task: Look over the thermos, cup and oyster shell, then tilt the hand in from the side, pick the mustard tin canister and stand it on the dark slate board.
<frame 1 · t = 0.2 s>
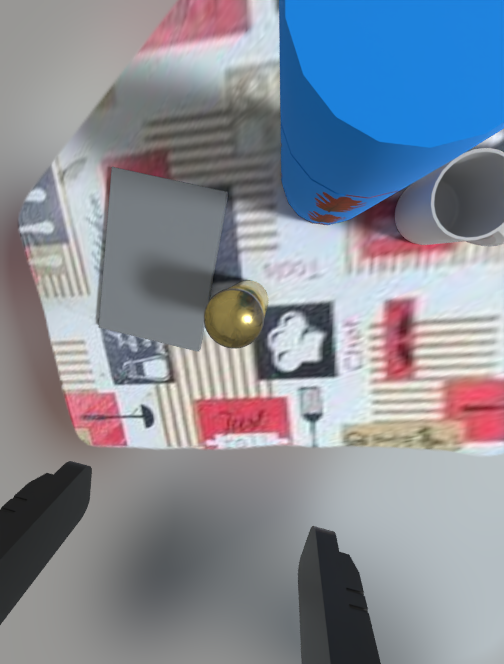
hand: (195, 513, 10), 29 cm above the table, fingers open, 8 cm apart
slate board: (161, 264, 38), on the table
cup: (435, 219, 34), on the table
thermos: (328, 177, 34), on the table
canister: (248, 300, 38), on the table
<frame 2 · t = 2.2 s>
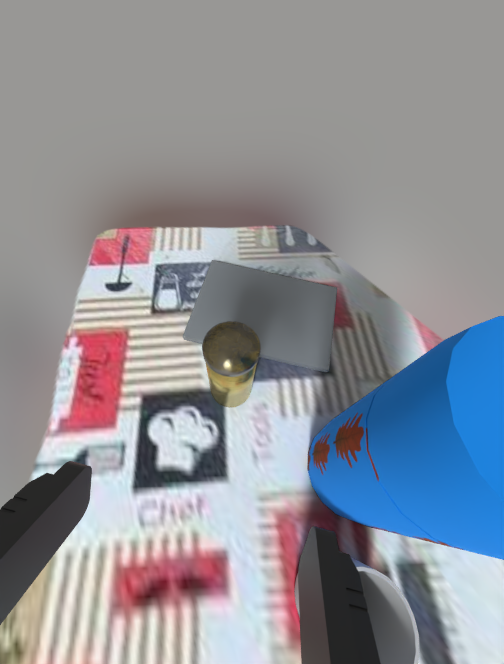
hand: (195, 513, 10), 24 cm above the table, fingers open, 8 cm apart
slate board: (264, 313, 43), on the table
cup: (322, 608, 28), on the table
thermos: (351, 467, 34), on the table
canister: (230, 386, 38), on the table
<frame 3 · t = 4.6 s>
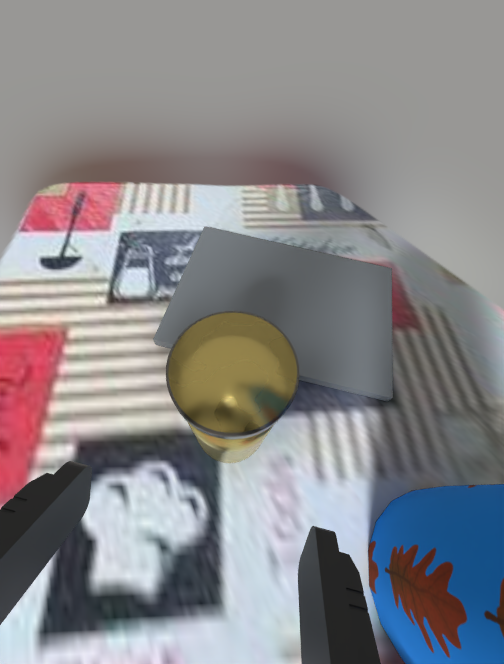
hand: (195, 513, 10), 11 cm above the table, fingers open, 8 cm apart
slate board: (283, 306, 28), on the table
thermos: (446, 580, 19), on the table
canister: (230, 426, 22), on the table
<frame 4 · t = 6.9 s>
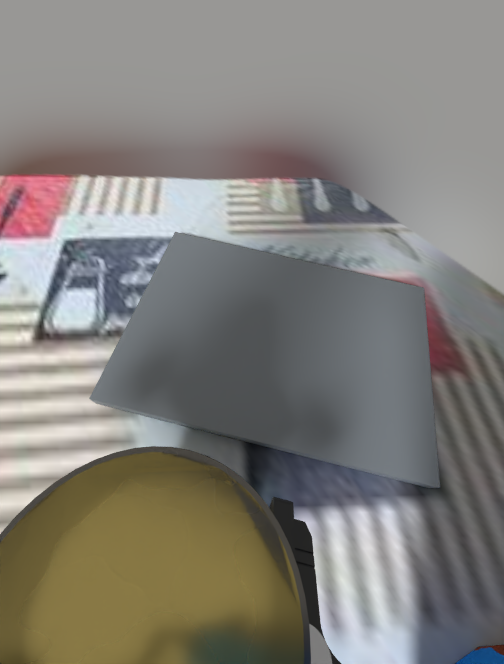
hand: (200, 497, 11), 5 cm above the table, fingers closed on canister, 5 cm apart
slate board: (279, 341, 21), on the table
canister: (198, 536, 15), on the table, touching gripper
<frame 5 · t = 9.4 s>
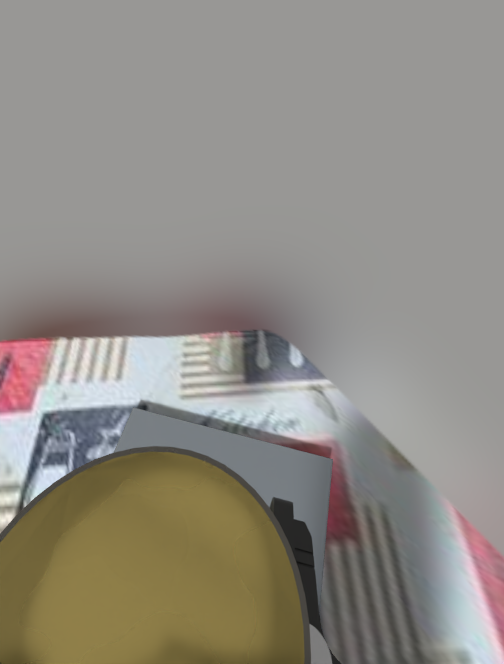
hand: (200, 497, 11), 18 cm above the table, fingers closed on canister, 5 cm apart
slate board: (210, 515, 26), on the table
canister: (198, 536, 15), point 13 cm above the table, touching gripper
when the fingers open (8 cm above the table, at t = 12.3 s): canister drops 1 cm, resting on slate board.
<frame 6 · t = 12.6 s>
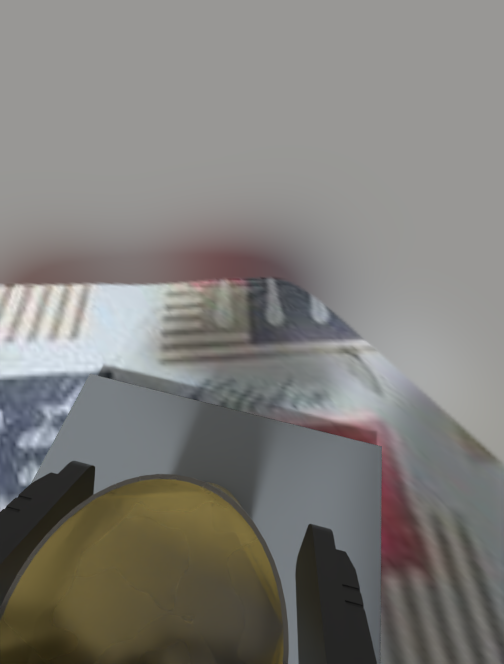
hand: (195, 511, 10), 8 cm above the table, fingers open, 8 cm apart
slate board: (201, 531, 17), on the table
canister: (200, 535, 16), point 1 cm above the table, touching slate board
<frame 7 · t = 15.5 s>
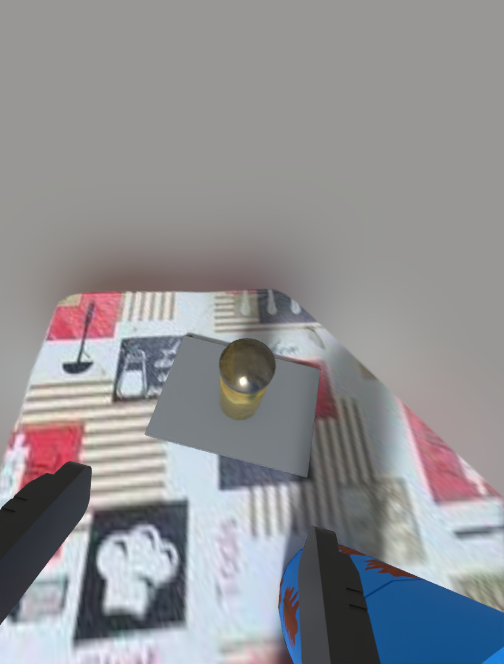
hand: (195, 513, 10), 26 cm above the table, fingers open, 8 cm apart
slate board: (239, 401, 39), on the table
thermos: (328, 603, 30), on the table
canister: (239, 399, 38), point 1 cm above the table, touching slate board
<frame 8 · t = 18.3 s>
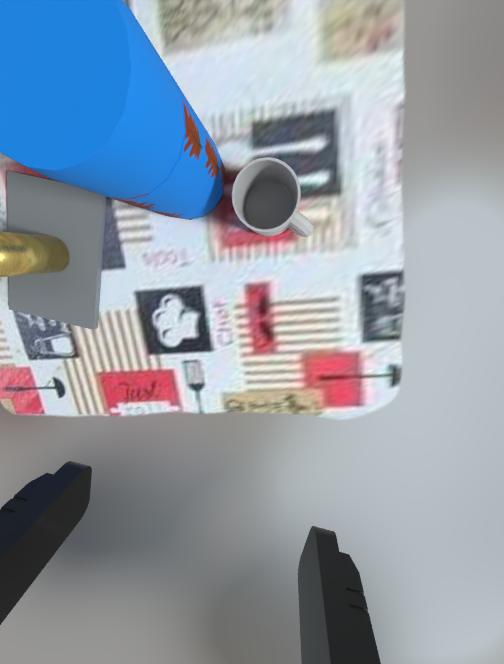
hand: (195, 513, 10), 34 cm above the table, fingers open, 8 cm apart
slate board: (57, 254, 44), on the table
cup: (278, 214, 40), on the table
thermos: (187, 178, 40), on the table
canister: (52, 254, 43), point 1 cm above the table, touching slate board
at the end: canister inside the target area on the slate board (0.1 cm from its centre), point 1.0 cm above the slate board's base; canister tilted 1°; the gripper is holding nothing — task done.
